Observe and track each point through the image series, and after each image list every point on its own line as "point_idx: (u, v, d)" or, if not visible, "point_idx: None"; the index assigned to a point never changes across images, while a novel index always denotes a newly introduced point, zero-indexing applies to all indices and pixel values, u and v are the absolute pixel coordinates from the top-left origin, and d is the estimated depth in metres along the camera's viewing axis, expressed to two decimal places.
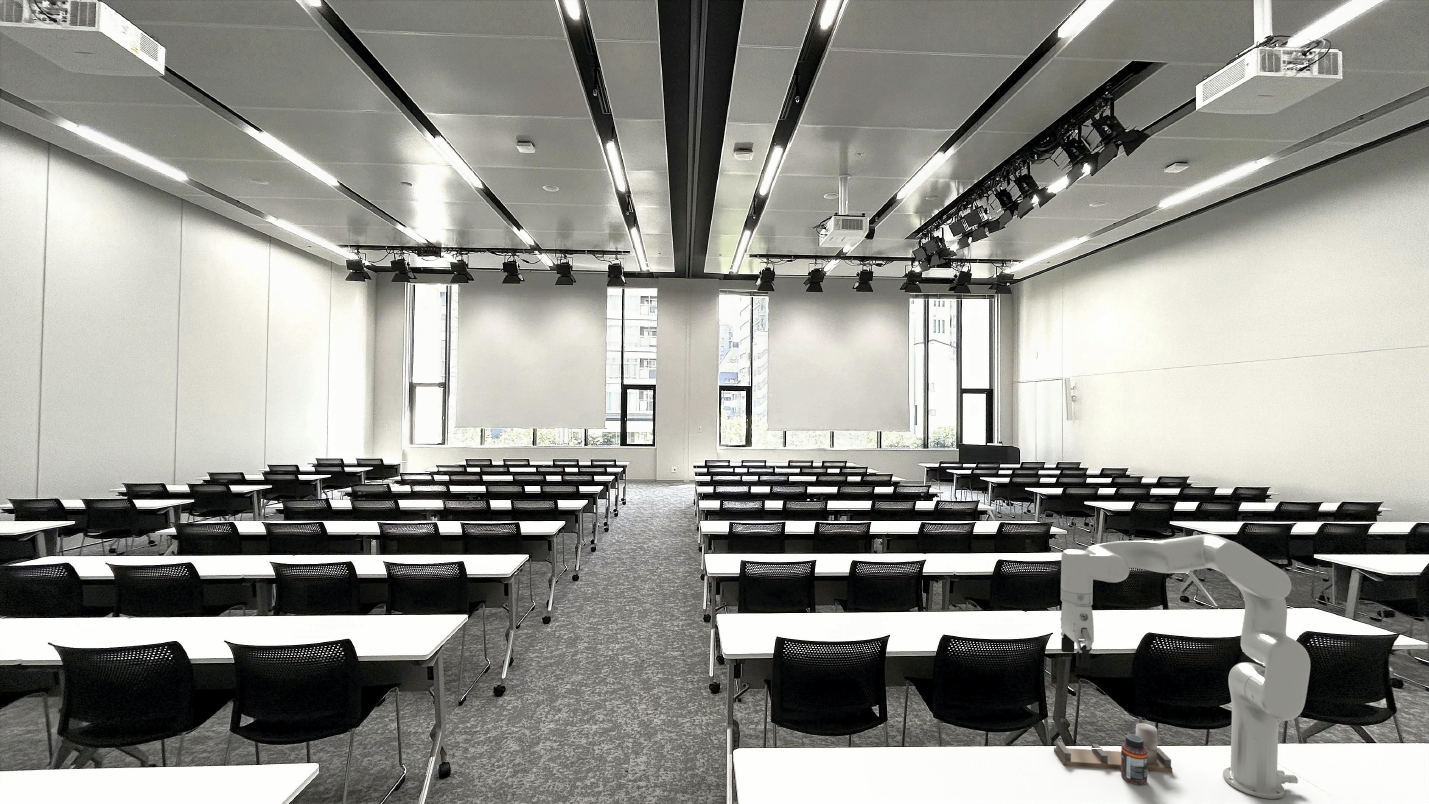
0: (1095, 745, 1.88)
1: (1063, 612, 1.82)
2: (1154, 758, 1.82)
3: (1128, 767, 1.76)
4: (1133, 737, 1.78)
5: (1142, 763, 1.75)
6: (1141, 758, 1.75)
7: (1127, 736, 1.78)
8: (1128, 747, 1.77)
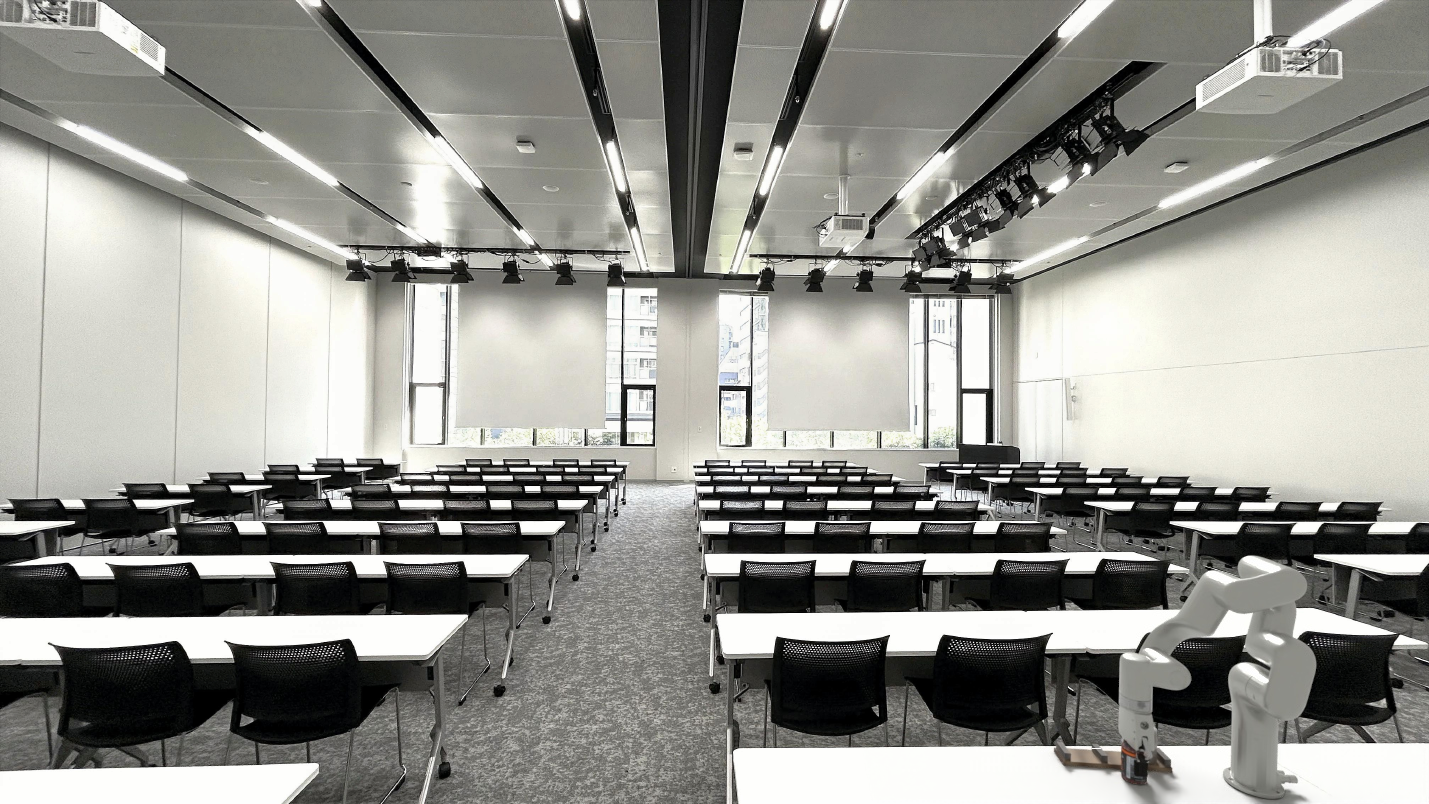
0: (1095, 745, 1.88)
1: (1121, 716, 1.80)
2: (1154, 758, 1.82)
3: (1128, 767, 1.76)
4: None
5: None
6: None
7: None
8: (1128, 747, 1.77)
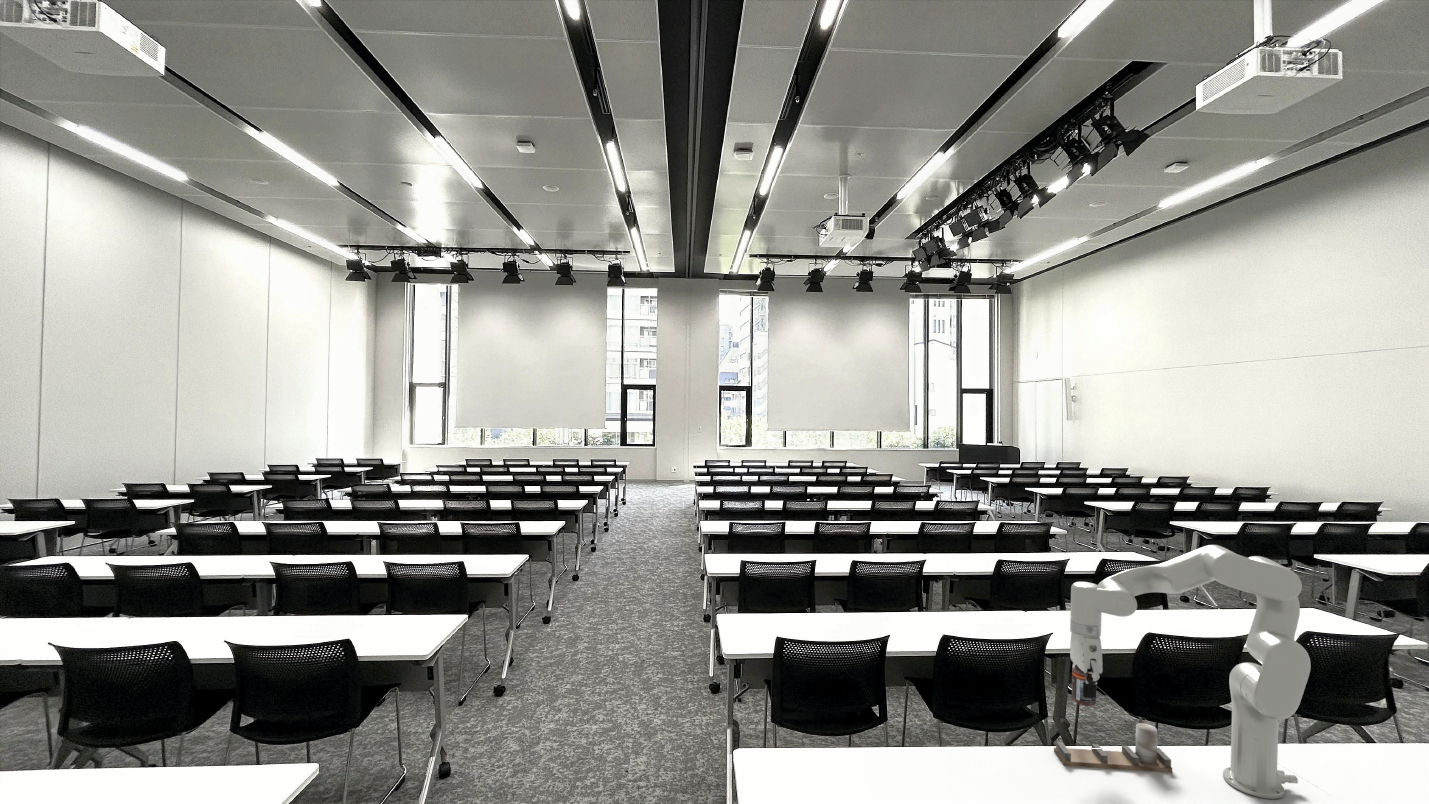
0: (1095, 745, 1.88)
1: (1072, 642, 1.88)
2: (1154, 758, 1.82)
3: (1078, 689, 1.84)
4: None
5: None
6: None
7: None
8: (1078, 671, 1.85)
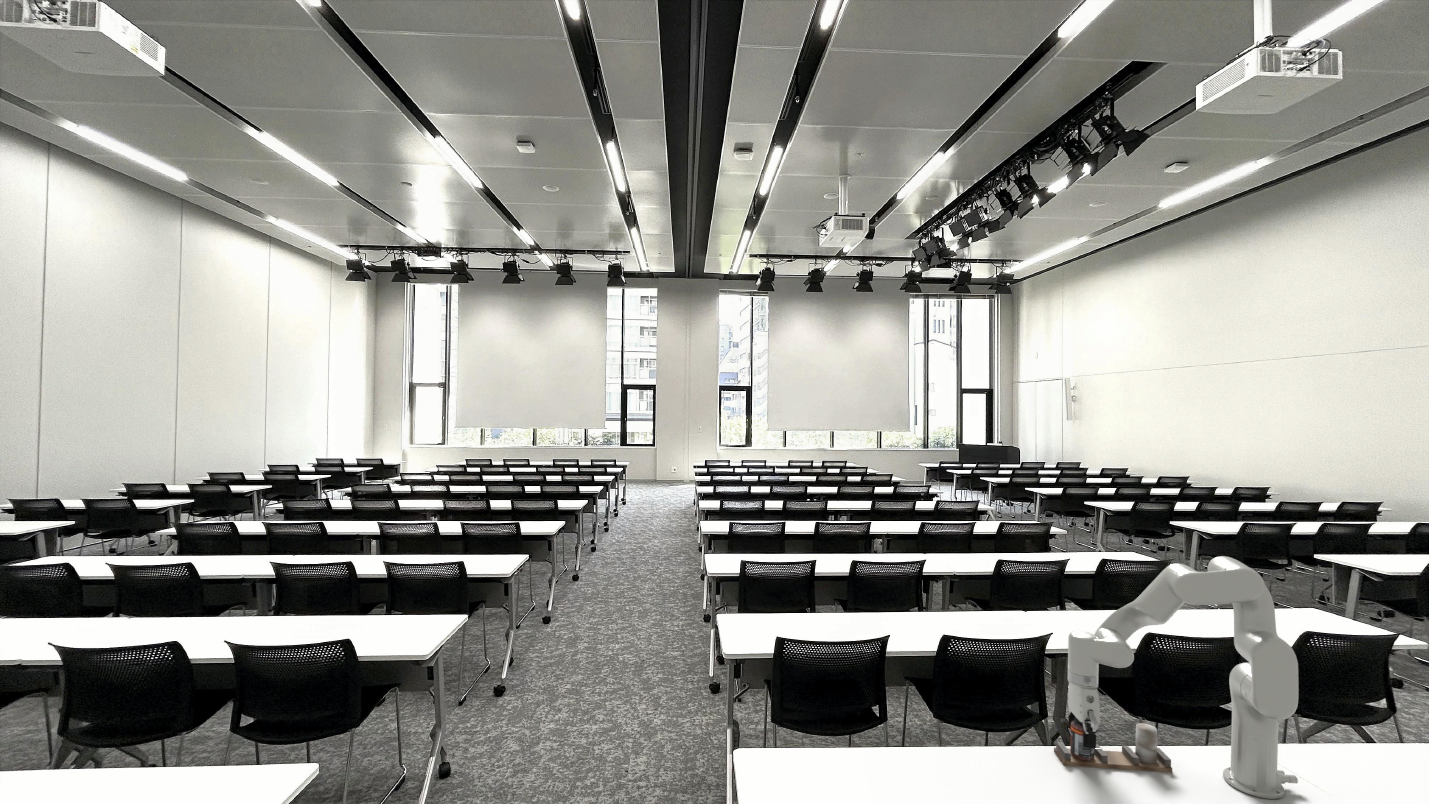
0: None
1: (1070, 691, 1.89)
2: (1154, 758, 1.82)
3: (1076, 744, 1.85)
4: None
5: None
6: None
7: None
8: (1076, 725, 1.85)
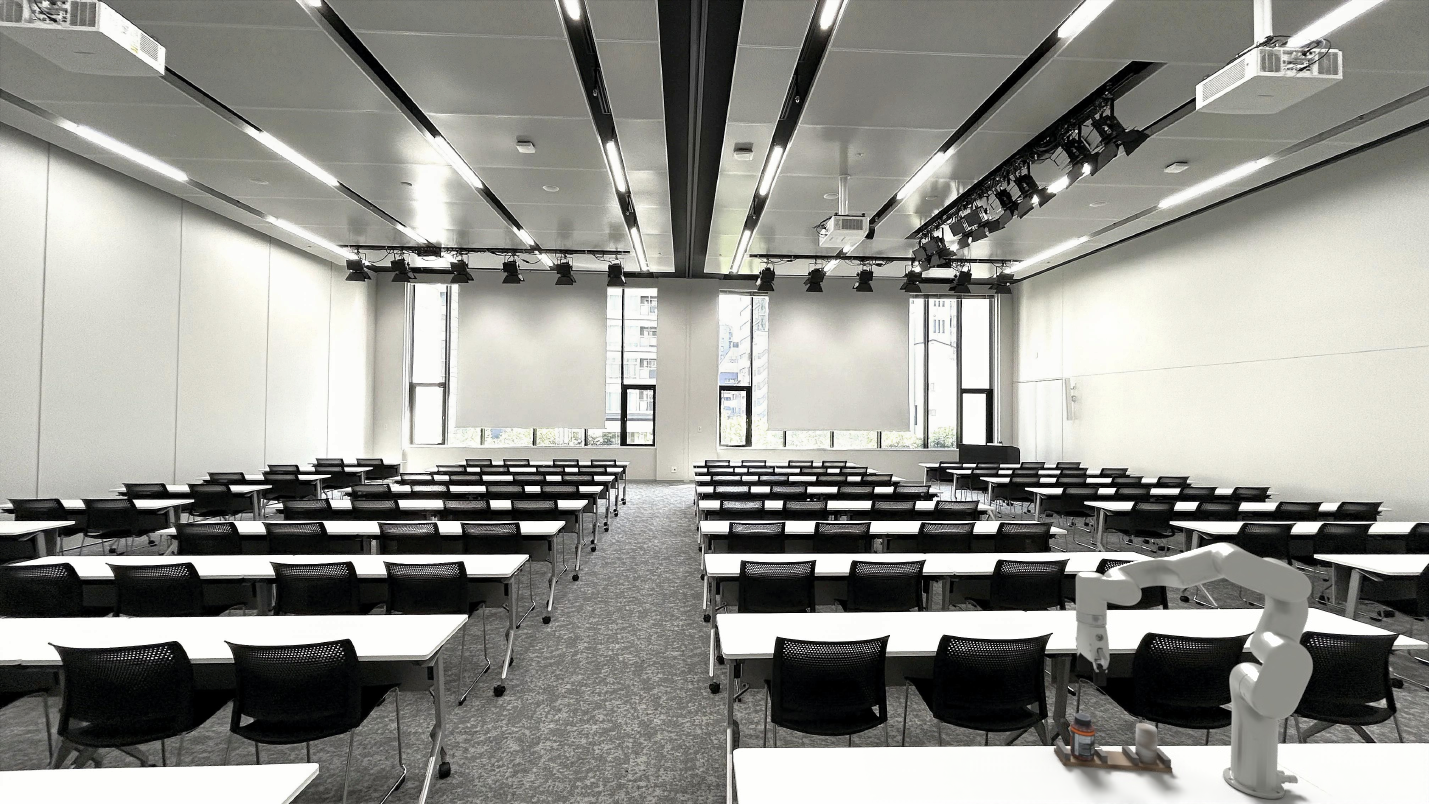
0: (1095, 745, 1.88)
1: (1078, 632, 1.89)
2: (1154, 758, 1.82)
3: (1076, 744, 1.85)
4: (1081, 716, 1.86)
5: (1089, 740, 1.83)
6: (1088, 735, 1.83)
7: (1076, 714, 1.87)
8: (1076, 725, 1.85)
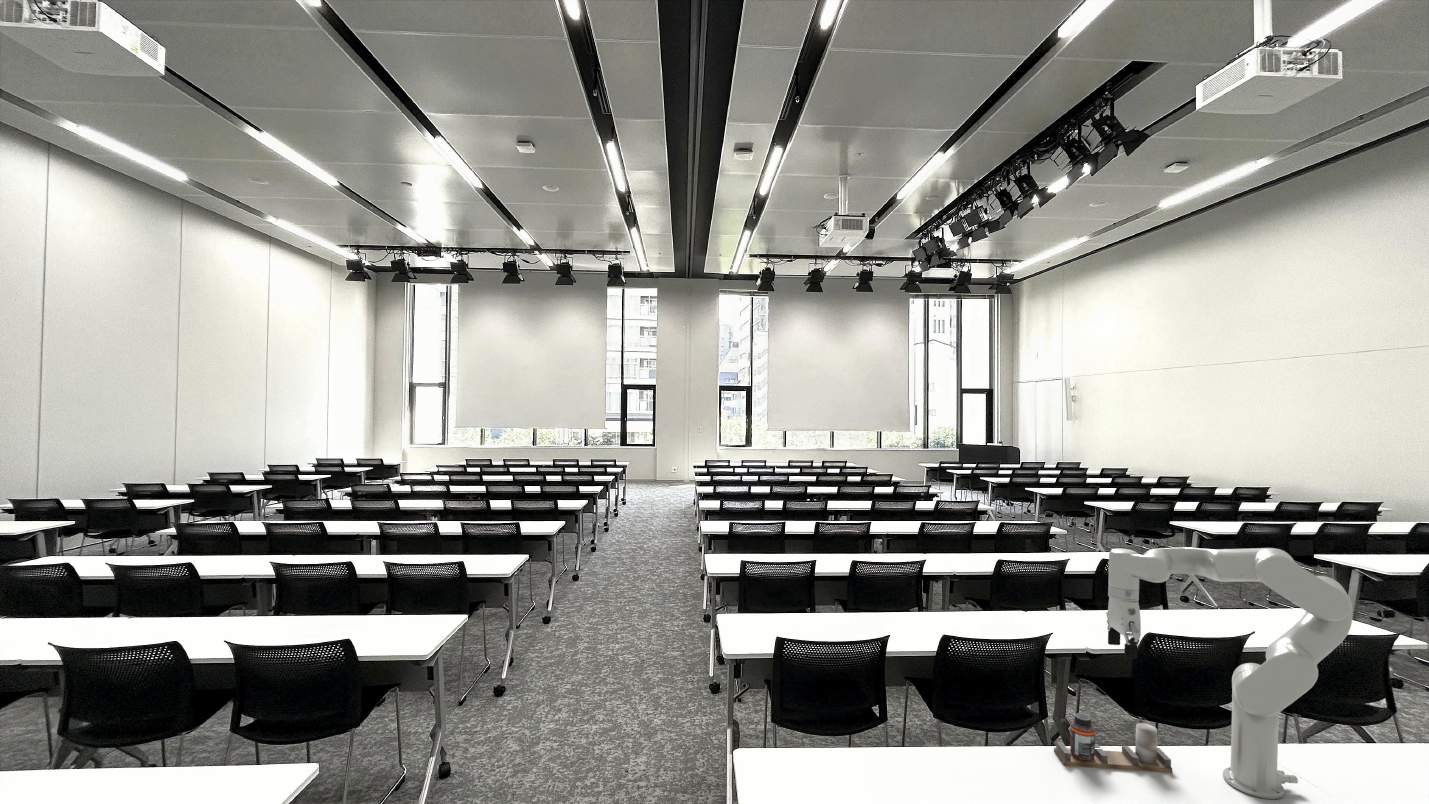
0: (1095, 745, 1.88)
1: (1110, 607, 1.94)
2: (1154, 758, 1.82)
3: (1076, 744, 1.85)
4: (1081, 716, 1.86)
5: (1089, 740, 1.83)
6: (1089, 735, 1.83)
7: (1076, 714, 1.87)
8: (1076, 725, 1.85)
